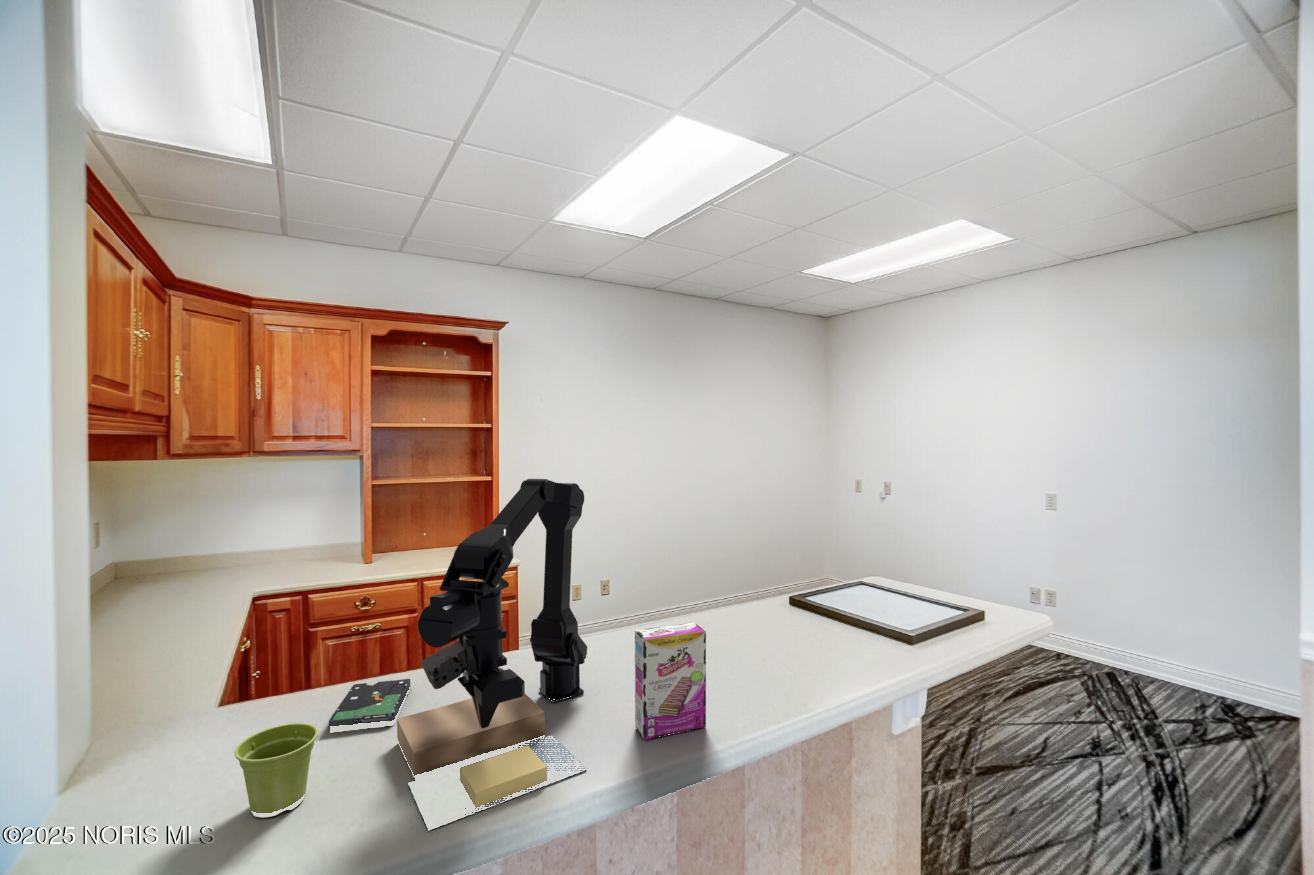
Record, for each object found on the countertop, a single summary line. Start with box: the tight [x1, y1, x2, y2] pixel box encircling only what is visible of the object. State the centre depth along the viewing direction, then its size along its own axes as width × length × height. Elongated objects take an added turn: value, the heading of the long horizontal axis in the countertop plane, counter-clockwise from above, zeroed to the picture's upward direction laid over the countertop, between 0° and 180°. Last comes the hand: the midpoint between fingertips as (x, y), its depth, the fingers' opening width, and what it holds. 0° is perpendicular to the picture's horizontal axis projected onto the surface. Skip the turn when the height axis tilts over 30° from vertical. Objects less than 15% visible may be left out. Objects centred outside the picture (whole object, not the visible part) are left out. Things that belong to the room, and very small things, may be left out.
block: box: [460, 745, 547, 808], centre depth 82 cm, size 10×7×2 cm
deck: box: [396, 693, 546, 776], centre depth 93 cm, size 20×12×4 cm, turn 125°
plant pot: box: [234, 722, 319, 813], centre depth 78 cm, size 9×9×9 cm
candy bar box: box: [634, 622, 707, 741], centre depth 96 cm, size 11×5×16 cm, turn 111°
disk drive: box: [328, 678, 411, 727], centre depth 104 cm, size 10×3×15 cm
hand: (484, 726), depth 88 cm, fingers closed
